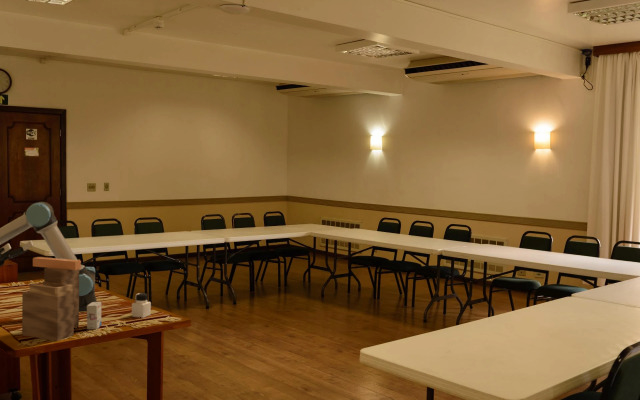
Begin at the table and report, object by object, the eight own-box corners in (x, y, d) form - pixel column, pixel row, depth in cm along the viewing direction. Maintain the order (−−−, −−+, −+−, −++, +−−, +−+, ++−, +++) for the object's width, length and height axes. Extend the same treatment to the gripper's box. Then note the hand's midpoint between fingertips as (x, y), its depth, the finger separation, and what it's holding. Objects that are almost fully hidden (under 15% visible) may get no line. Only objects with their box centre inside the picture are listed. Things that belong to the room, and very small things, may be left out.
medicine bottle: (150, 315, 330) (151, 293, 329) (142, 318, 323) (143, 295, 322) (139, 313, 332) (139, 291, 331) (131, 316, 325) (131, 294, 325)
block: (38, 265, 301) (38, 256, 301) (80, 268, 294) (80, 260, 294) (32, 266, 297) (32, 258, 297) (75, 270, 291) (75, 261, 290)
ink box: (91, 324, 307) (91, 301, 306) (101, 324, 307) (101, 301, 306) (86, 329, 298) (86, 305, 297) (96, 329, 298) (97, 305, 298)
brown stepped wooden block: (58, 324, 306) (58, 264, 304) (91, 329, 298) (92, 268, 296) (22, 335, 285) (22, 271, 283) (57, 340, 278) (57, 275, 276)
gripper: (16, 265, 320) (43, 248, 313) (-26, 272, 297) (2, 254, 290) (10, 252, 321) (38, 235, 314) (-32, 258, 298) (-4, 240, 291)
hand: (21, 244), depth 302 cm, fingers open, 13 cm apart
